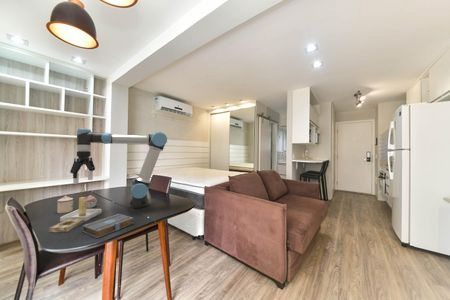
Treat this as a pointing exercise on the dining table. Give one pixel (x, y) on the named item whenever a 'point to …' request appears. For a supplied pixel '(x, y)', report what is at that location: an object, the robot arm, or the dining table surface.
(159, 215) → the dining table surface
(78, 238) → the dining table surface
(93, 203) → the cupcake
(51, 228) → the block
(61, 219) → the tray
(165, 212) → the dining table surface
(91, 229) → the book
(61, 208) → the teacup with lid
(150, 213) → the dining table surface
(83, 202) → the lock pin
